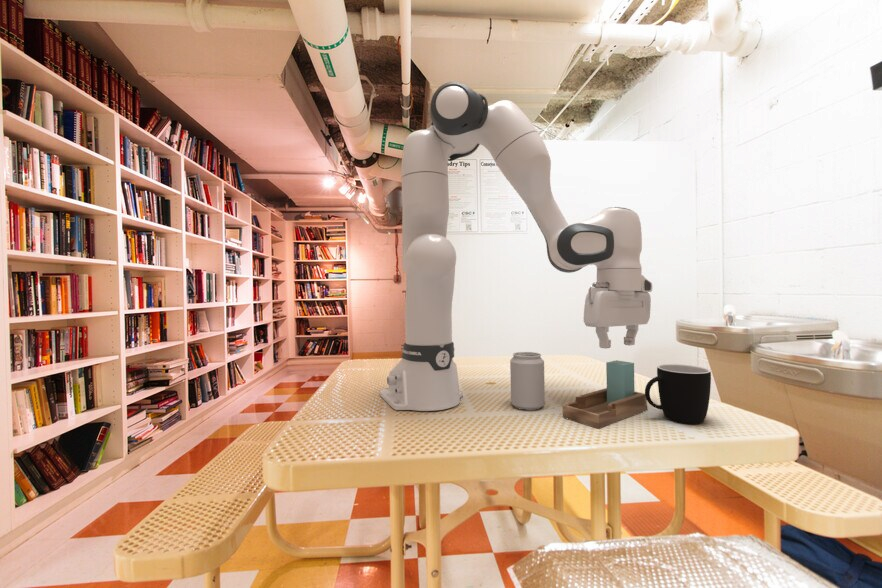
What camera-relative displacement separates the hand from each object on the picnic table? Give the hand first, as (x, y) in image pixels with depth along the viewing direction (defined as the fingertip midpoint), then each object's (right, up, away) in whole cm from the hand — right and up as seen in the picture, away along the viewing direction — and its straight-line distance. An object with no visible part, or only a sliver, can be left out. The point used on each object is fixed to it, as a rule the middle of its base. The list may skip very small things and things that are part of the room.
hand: (617, 346), depth 81 cm
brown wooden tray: (-4, -14, -3) cm, 15 cm away
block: (+1, -13, 0) cm, 13 cm away
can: (-19, -14, +3) cm, 24 cm away
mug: (+8, -14, -7) cm, 18 cm away
